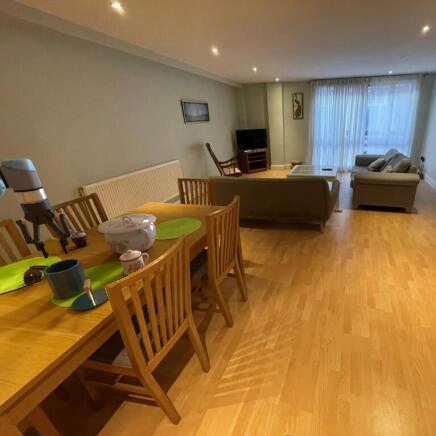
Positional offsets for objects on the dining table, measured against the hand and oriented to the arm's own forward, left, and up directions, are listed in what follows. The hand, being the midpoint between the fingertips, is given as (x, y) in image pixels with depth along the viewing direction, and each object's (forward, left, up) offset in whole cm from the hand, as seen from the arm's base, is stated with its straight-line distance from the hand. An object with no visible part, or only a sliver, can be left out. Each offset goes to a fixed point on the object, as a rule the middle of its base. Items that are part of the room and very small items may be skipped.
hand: (57, 254), depth 98 cm
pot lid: (+8, -13, -18) cm, 23 cm away
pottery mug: (-14, +18, -18) cm, 29 cm away
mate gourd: (-2, +50, -18) cm, 53 cm away
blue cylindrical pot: (0, 0, -18) cm, 18 cm away
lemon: (0, 0, -1) cm, 1 cm away
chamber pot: (+25, +27, -18) cm, 41 cm away
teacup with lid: (+25, +2, -18) cm, 31 cm away
